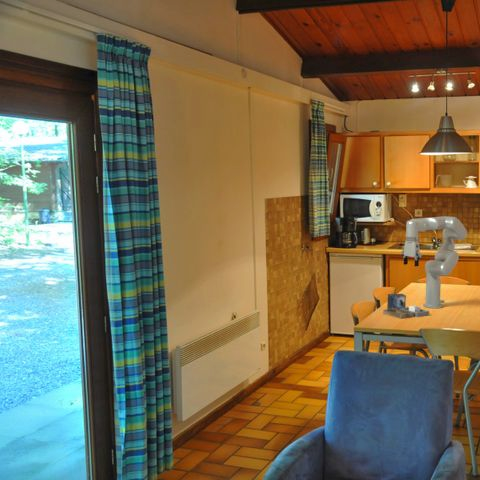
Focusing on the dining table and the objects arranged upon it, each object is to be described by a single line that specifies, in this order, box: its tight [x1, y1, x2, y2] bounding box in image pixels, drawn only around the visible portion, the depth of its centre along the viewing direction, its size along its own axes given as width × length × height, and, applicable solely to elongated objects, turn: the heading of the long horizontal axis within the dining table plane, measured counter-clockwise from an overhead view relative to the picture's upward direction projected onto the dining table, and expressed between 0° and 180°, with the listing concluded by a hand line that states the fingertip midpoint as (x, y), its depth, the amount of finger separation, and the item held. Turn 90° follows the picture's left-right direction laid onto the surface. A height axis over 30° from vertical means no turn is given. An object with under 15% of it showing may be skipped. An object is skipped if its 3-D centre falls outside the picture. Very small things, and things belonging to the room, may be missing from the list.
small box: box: [386, 293, 407, 310], centre depth 466 cm, size 11×6×10 cm, turn 101°
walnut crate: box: [382, 308, 414, 320], centre depth 449 cm, size 11×16×3 cm
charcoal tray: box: [401, 307, 430, 318], centre depth 453 cm, size 11×15×3 cm
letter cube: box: [408, 304, 421, 312], centre depth 453 cm, size 5×5×5 cm
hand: (411, 265), depth 462 cm, fingers open, 9 cm apart
